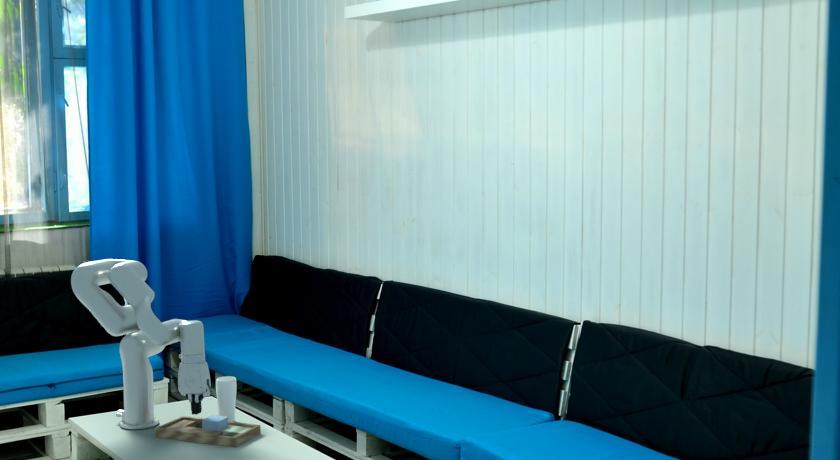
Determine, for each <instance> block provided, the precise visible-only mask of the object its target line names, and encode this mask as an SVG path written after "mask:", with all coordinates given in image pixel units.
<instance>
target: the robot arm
mask: <svg viewBox="0 0 840 460" xmlns="http://www.w3.org/2000/svg"><path fill="white" fill-rule="evenodd" d="M147 278H148V269H147V268H146V266H145V265H144V264H143V263H142V262H140V261H137V260H130V259H117V258H115V259H113V258H104V259H99V260H93V261H87V262H84V263H81V264H80V265H79V264H78V266H77V267H75V268H74V270H73V271H72V274H71V277H70V285H71V289H72V292H73V294H74V295H75V297H76V298H77V300H79V302H80V303H81V304H82V305H83V306H84V307H85V308H86V309H87V310H89V312H90V313H91V314H92V316H93V317H94V318H95V319H96V320H97V322H98V323H99V324H100V326H101V327H103V328H104V330H105V331H106V332H107V333H108V334H110V336H112V337H120V336H123V335H124V337H122V339H121V340H120V344H119V349H118V350H119V354H120V359H121V363H122V380H123V382H122V383H123V409H118V410H117V413H116V414H115V416H116V417H117V418H121V421H120V422H119V427H121V428H122V429H126V430H143V429H144V430H145V429H149V428H153V427H156V426H157V425H158V424H159V423H160V420H159V418H158V417H157V416H155V405H154V399H155V398H154V373H153V367H152V365H151V362H150V359H149V358H150V357H152V356H155V355H157V354H160V353H161V352H162V351H163V350H164V349H165V348H166V346H168V345H172V344H175V343H178V342H180V354H178V358H179V359H180V360H181V362H179V366H178V371H177V372H178V373H177V389H178V392H179V393H180V395H181V396H183V397H186V398H187V399H188V402H189V403H190V410H191V415H195V416H196V415H198V414H201V413H202V411H203V410H202V401H203V399H204V398H207V397H210V396H211V392H210V391H211V388H212V387H211V386H212V384H211V375H210V370H209V364H208V362H207V361H206V353H205V351H206V350H205V333H204V331H205V329H204V324H203V322H202V321H200V320H196V319H195V320H186V319H179V318H172V319H169V320H166V321H163V322H162V321H160V319H159V318H158V317H157V316H156V315H155V313H154V312H153V310H152V307H151V306H152V305H151V304H152V302H153V301H154V299H155V296H156V295H155V291H154V290H153V289H152V288H151V287H150V285H148V284H147V283H146V282H145V281H146V280H147ZM107 284H110V285H112V286H113V288H115V290H116V291H118V293H119V295H121V296H122V297H123V299H124V300H126V302H127V303H128V304H127V305H120V304H119V303H118V302H117V301H116V300H115V298H114V297H113V296H112V295H111V294H110V293H109V292H108V291H106V290H103V289H102V288H101V287H100V286H102V285H103V286H104V285H107Z"/></svg>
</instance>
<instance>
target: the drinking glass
mask: <svg viewBox="0 0 840 460" xmlns="http://www.w3.org/2000/svg"><path fill="white" fill-rule="evenodd" d="M215 391H216V393H215V394H216V400H217V401H216V404H217V410H218V416H225V417H228V421H230V422H236V403H237V378H236V377H235V376H230V375H229V376H228V375H226V376H219V377H217V378H216V381H215Z"/></svg>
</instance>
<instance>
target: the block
mask: <svg viewBox="0 0 840 460" xmlns="http://www.w3.org/2000/svg"><path fill="white" fill-rule="evenodd" d="M227 426H228V417H225V416H219V415H215V414H212V415H210V416H207V417H205V418H204V419H203V420H202V429H206V430H215V431H219V430H221V429H223V428H225V427H227Z"/></svg>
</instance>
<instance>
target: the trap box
mask: <svg viewBox="0 0 840 460" xmlns="http://www.w3.org/2000/svg"><path fill="white" fill-rule="evenodd" d="M203 419H205V418H203V417H195V416H187V415H182V416H180V417H178V418H175V419H173V420H170V421H169V422H166V423H164V424H162V425H160V426H157V427H155V428H154V434H155V436H154V437H155V438H160V439H161V438H162V439H170V440H177V441H178V440H179V441H186V442H193V443H203V444H208V445H210V444H211V445H215V446H216V445H218V446H223V447H224V446H225V447H233V448H237V447H238V446H241V445H242V444H244V443H246V442H248V441H249V440H251V439H253V438H255V437H257V436H259V435H261V425H260V424H255V423H247V422H237V421H234V422H230V421H228V426H227V427H225V428H223V429H221V430H219V431H215V430H206V429H202V420H203Z"/></svg>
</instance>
